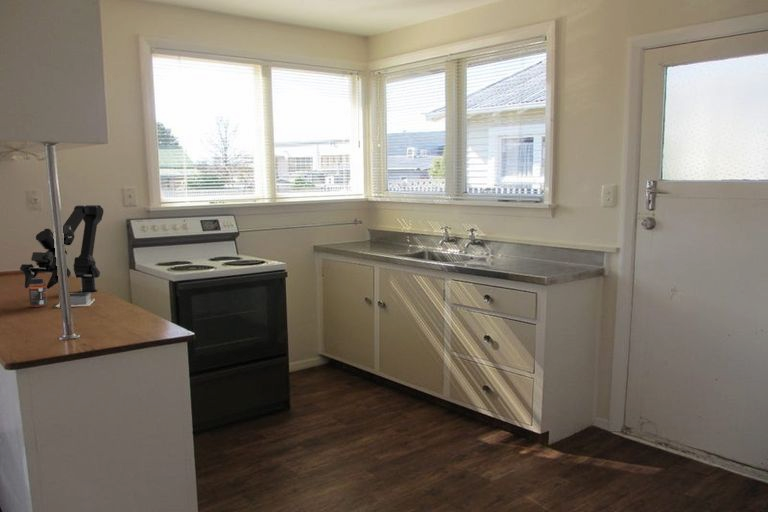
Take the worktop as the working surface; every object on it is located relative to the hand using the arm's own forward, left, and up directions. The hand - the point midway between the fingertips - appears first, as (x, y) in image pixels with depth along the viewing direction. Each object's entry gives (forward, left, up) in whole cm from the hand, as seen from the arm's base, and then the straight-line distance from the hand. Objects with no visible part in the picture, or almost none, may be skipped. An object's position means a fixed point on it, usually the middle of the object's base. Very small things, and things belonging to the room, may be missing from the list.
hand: (36, 287), depth 242 cm
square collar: (+2, +13, -7) cm, 15 cm away
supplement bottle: (0, 0, -8) cm, 8 cm away
